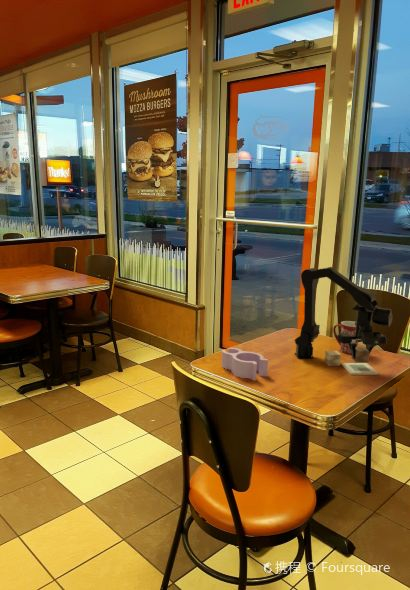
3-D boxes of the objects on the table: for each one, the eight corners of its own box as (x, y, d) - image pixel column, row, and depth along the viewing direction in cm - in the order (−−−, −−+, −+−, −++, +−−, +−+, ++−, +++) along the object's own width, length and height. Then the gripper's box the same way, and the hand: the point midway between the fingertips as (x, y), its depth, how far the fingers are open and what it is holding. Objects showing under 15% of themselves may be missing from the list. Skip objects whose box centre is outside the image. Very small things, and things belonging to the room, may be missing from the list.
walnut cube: (356, 362, 183) (357, 351, 182) (351, 358, 188) (352, 347, 187) (368, 362, 184) (369, 351, 183) (363, 358, 189) (364, 347, 188)
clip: (214, 367, 186) (215, 351, 184) (235, 361, 194) (236, 345, 193) (250, 382, 171) (251, 365, 170) (271, 374, 180) (272, 358, 178)
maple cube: (328, 366, 190) (329, 354, 189) (324, 361, 195) (325, 350, 194) (339, 365, 191) (340, 354, 190) (335, 361, 196) (336, 350, 195)
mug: (362, 351, 210) (364, 323, 207) (353, 356, 203) (356, 327, 200) (336, 345, 218) (339, 318, 215) (327, 349, 211) (330, 321, 209)
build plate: (351, 374, 181) (351, 372, 181) (341, 364, 192) (341, 362, 192) (377, 374, 182) (377, 372, 182) (366, 364, 193) (366, 362, 192)
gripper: (348, 327, 174) (345, 365, 177) (395, 327, 175) (390, 365, 179) (338, 319, 185) (335, 355, 188) (382, 319, 186) (378, 355, 189)
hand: (360, 358), depth 186 cm, fingers closed on walnut cube, 5 cm apart
